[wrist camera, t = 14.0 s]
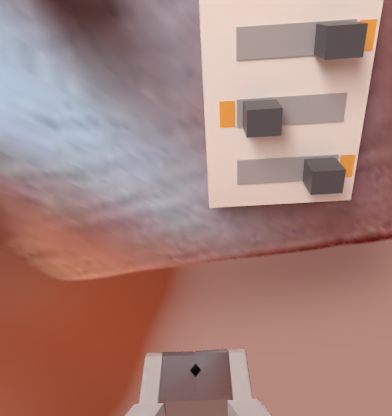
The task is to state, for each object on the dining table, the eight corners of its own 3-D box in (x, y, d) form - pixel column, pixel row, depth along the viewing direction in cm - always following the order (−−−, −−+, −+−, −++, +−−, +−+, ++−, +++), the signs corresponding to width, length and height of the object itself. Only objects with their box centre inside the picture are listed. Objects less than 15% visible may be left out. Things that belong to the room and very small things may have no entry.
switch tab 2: (313, 54, 32) (324, 59, 29) (316, 23, 31) (328, 25, 28) (349, 52, 32) (363, 57, 29) (353, 20, 31) (368, 23, 28)
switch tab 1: (242, 127, 35) (246, 137, 32) (242, 101, 34) (246, 110, 31) (274, 125, 35) (281, 135, 32) (275, 99, 34) (282, 107, 31)
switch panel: (207, 191, 43) (209, 208, 40) (198, -8, 34) (198, -8, 30) (337, 183, 43) (351, 200, 39) (366, -19, 33) (387, -21, 30)
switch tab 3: (302, 181, 38) (310, 194, 35) (304, 159, 37) (312, 171, 34) (332, 179, 38) (342, 193, 35) (335, 157, 37) (346, 169, 34)
